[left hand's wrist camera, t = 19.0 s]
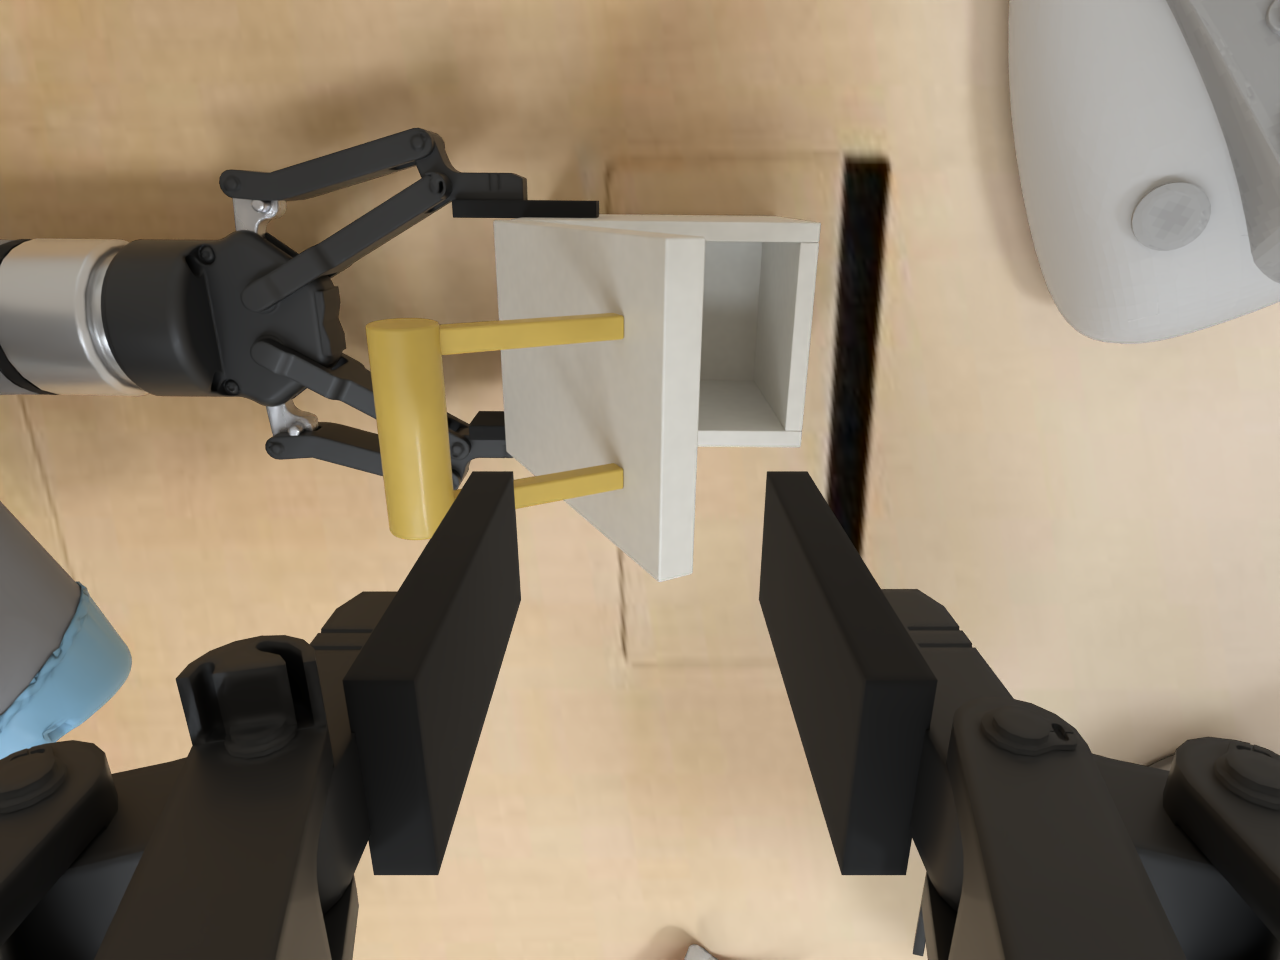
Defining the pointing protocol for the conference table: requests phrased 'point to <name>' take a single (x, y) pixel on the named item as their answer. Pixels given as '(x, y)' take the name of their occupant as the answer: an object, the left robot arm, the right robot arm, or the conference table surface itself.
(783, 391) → the chest
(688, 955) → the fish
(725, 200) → the conference table surface
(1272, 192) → the projector
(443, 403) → the lid
